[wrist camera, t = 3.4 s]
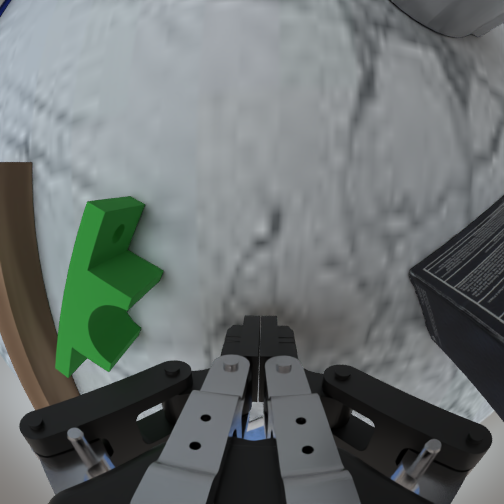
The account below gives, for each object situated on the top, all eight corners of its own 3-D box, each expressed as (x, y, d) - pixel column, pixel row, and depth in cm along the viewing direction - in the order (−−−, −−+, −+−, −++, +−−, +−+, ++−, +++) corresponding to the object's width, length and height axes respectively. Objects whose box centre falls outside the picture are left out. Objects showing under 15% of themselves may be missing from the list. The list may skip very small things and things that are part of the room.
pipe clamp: (130, 362, 18) (101, 401, 13) (88, 336, 18) (54, 368, 13) (185, 223, 15) (152, 240, 11) (131, 195, 15) (85, 201, 10)
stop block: (32, 162, 15) (-8, 162, 11) (80, 396, 19) (59, 423, 15) (11, 169, 15) (-26, 171, 11) (58, 389, 19) (36, 412, 15)
